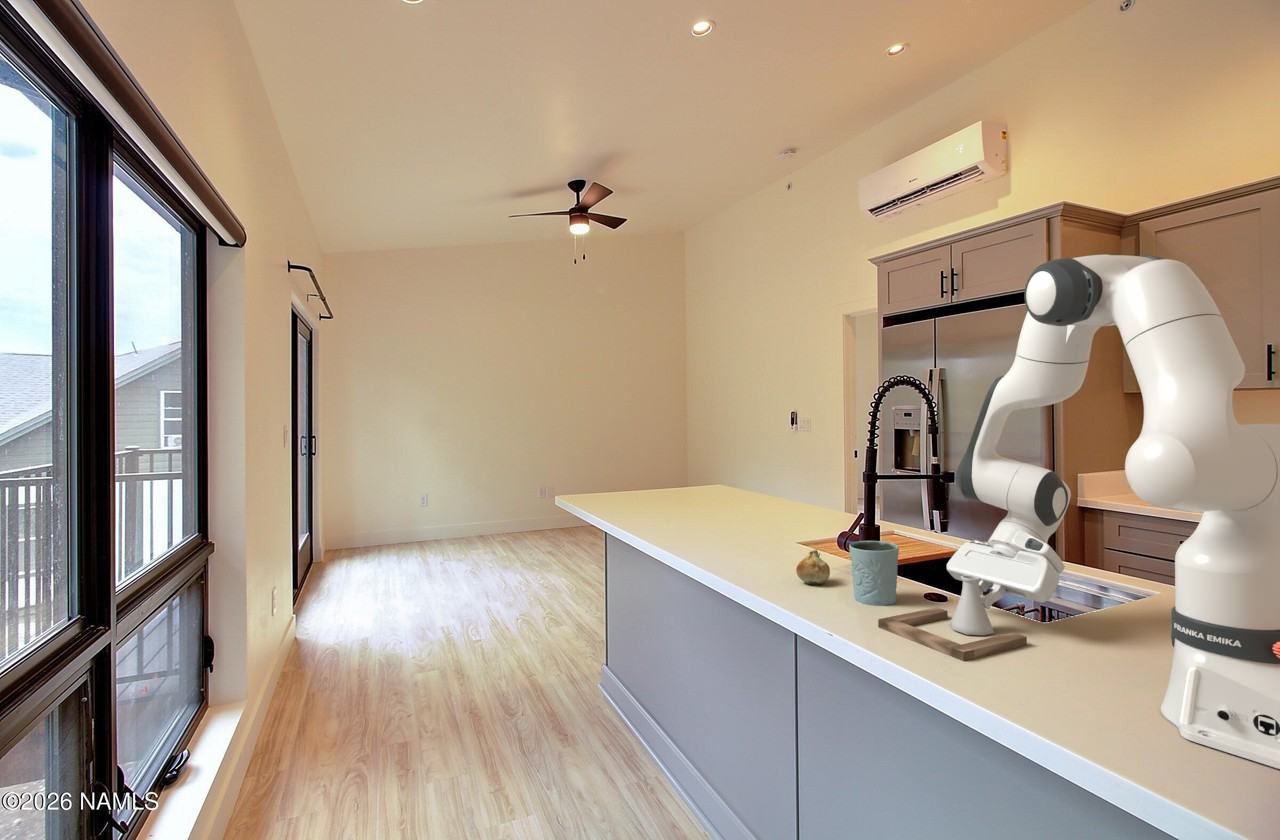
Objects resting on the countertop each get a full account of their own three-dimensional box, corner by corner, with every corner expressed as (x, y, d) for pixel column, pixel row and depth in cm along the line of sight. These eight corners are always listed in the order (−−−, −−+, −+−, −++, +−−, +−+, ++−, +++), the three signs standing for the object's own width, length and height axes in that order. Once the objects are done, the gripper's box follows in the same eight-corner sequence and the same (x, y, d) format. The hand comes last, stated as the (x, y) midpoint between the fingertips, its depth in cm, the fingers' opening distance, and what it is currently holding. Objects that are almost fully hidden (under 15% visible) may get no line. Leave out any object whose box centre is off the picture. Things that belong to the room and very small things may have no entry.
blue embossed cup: (902, 596, 145) (901, 542, 144) (896, 609, 136) (896, 552, 135) (854, 591, 149) (853, 539, 149) (846, 603, 140) (845, 548, 140)
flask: (1002, 635, 119) (1001, 581, 119) (964, 638, 118) (963, 583, 118) (977, 622, 126) (977, 571, 126) (942, 624, 125) (941, 573, 125)
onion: (790, 581, 159) (789, 548, 159) (820, 578, 161) (819, 546, 161) (805, 589, 152) (804, 555, 152) (836, 586, 154) (835, 552, 154)
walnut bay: (1026, 645, 114) (1026, 636, 114) (963, 661, 108) (963, 651, 108) (937, 614, 131) (937, 607, 131) (878, 626, 125) (878, 619, 125)
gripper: (960, 528, 135) (926, 581, 132) (1057, 547, 117) (1021, 610, 113) (976, 547, 137) (942, 600, 133) (1074, 569, 118) (1038, 631, 115)
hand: (979, 605), depth 123 cm, fingers closed, pressing on flask
